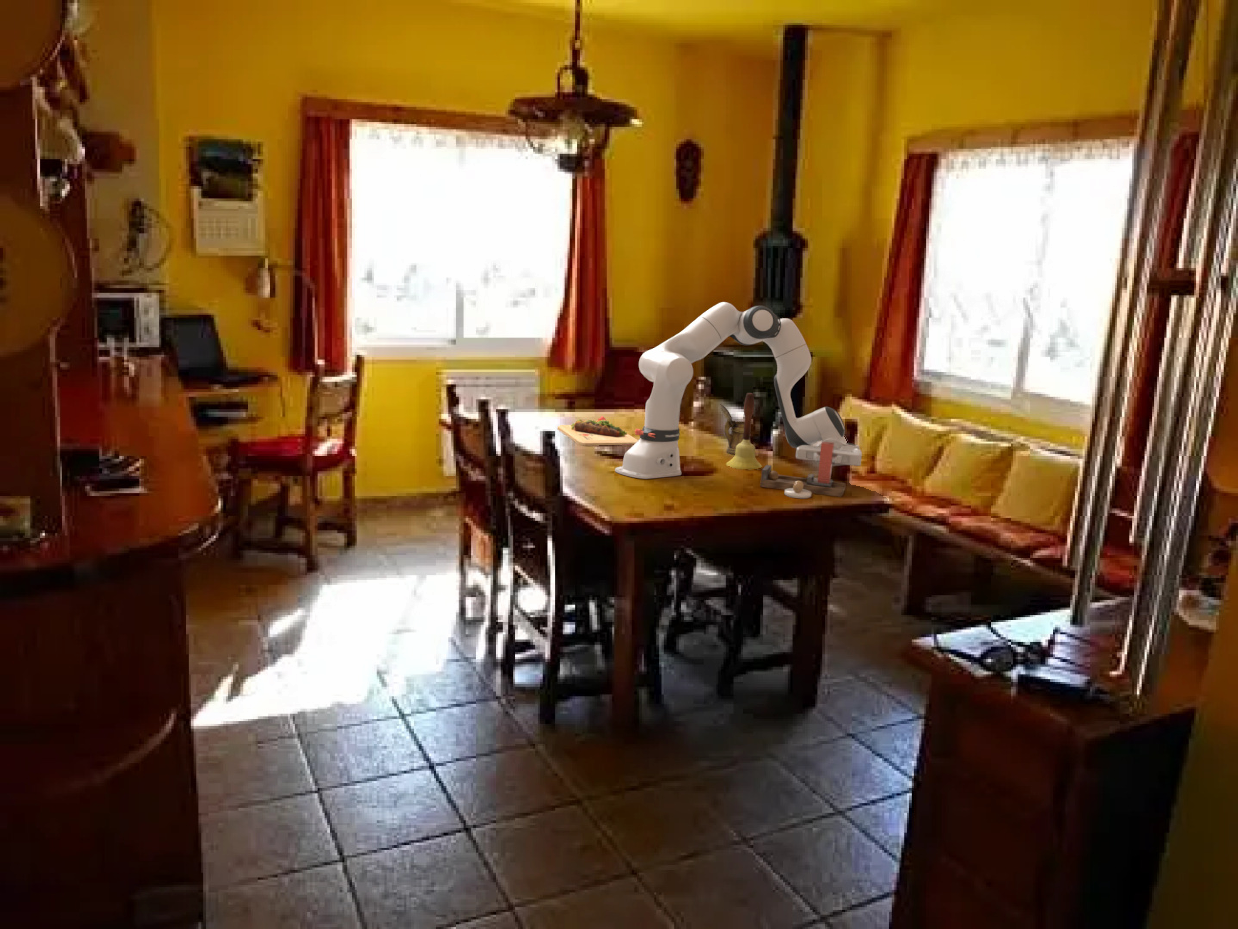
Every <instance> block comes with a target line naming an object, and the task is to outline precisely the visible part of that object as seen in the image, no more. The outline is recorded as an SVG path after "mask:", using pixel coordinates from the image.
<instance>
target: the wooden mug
mask: <svg viewBox="0 0 1238 929" xmlns="http://www.w3.org/2000/svg"><path fill="white" fill-rule="evenodd" d="M719 409H720V411H721V413H722V414H723V416H724V417H725V418H726V421H725V425H724V427H723V429H724V430H723V432H724V434H725V437H726V439H727V442H728V446H727V448H726V452H727V454H730V455H734V454H735V451H736V446H737V445H738V444H739V443H741V442H742V441H743V435H744V423H745V421H742V420H741V421H739V420H738V421H737V420H732V419H733V418H732V415H731V412H730V411H729V410H728V408H726V407H725V406H724V405H723V404H720V405H719ZM729 431H730V432H729ZM751 432H752V431H751V427H750V433H751ZM749 440H750V441H751V438H750V439H749Z"/></svg>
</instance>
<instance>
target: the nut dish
mask: <svg viewBox="0 0 1238 929" xmlns="http://www.w3.org/2000/svg"><path fill="white" fill-rule="evenodd" d="M803 487H804V484H803V482H802V481H796V482H795V483H794V485H793V488H788V489H785V490H784V496H786V497H789V498H792V499H809V498H811V497H812V493H811V491H809V490H805V489H803Z"/></svg>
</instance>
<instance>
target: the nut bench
mask: <svg viewBox="0 0 1238 929" xmlns="http://www.w3.org/2000/svg"><path fill="white" fill-rule="evenodd" d="M796 481H802V482H803V484H804V487H803V489H805V490H809V491H811V494H815V495H816V494H817V495H825V496H831V497H839V498H841V497H843V495H844V492H845V490H846V482H839V481H833V486H832V487H831V488H828V487H820V486H812V485H806V483H807V477H798V476H791V475H784V474H779V473H778V472H777V471H776V470H772V465H771V464H766V465H765V466H764V467H762V468H761V478H760V482H759V483H760V484H759V487H761V488H767V489H768V488H769V489H777V490H784V491H785V489H788V488H793V485H794V483H795V482H796Z"/></svg>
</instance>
